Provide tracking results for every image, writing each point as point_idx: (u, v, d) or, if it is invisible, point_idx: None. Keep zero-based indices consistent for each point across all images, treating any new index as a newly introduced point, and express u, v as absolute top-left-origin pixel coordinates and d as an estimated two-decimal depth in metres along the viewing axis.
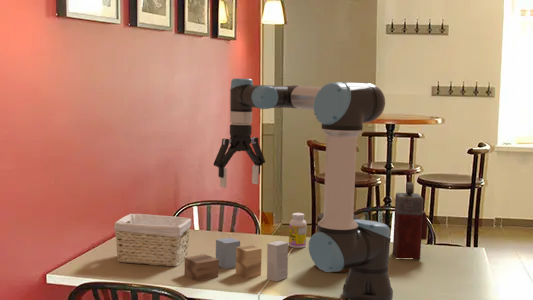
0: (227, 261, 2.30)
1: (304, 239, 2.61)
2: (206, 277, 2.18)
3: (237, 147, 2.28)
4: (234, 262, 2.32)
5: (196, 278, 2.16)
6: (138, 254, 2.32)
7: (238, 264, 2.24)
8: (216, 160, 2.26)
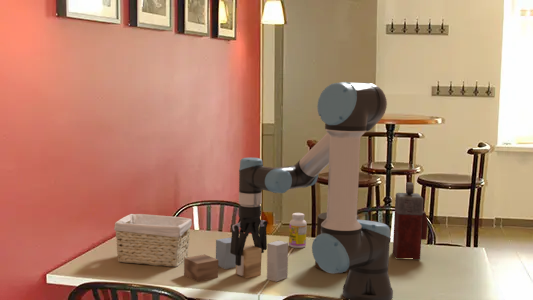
0: (227, 261, 2.30)
1: (304, 239, 2.61)
2: (206, 277, 2.17)
3: (248, 230, 2.21)
4: (234, 262, 2.32)
5: (196, 278, 2.16)
6: (138, 254, 2.31)
7: None
8: (232, 249, 2.20)
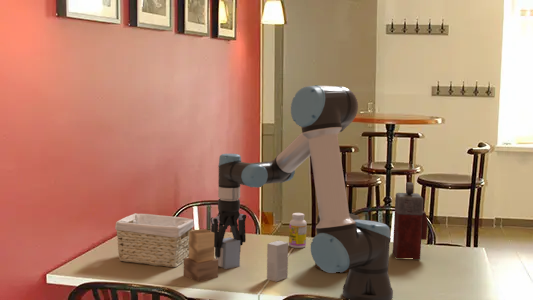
0: (227, 261, 2.30)
1: (304, 239, 2.61)
2: (206, 277, 2.17)
3: (227, 223, 2.30)
4: (234, 262, 2.32)
5: (197, 278, 2.16)
6: (138, 254, 2.32)
7: (191, 248, 2.19)
8: None
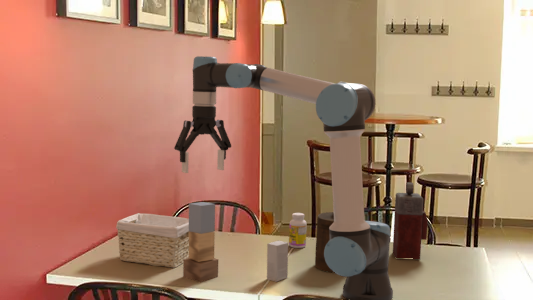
0: (202, 225, 2.16)
1: (304, 239, 2.61)
2: (208, 277, 2.18)
3: (200, 130, 2.13)
4: (209, 226, 2.18)
5: (199, 279, 2.15)
6: (138, 254, 2.32)
7: (191, 248, 2.19)
8: (177, 144, 2.11)
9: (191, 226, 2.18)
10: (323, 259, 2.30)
